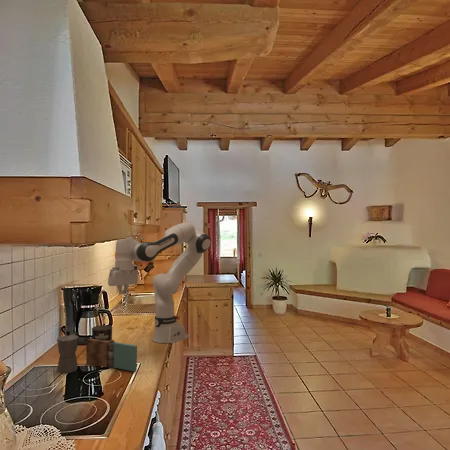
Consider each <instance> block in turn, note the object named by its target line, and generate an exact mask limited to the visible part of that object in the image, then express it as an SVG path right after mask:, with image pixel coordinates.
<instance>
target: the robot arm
mask: <svg viewBox="0 0 450 450" xmlns="http://www.w3.org/2000/svg"><path fill="white" fill-rule="evenodd" d="M126 237H127V238H126V239H121V240H118V239H117V240H116V243H115V244H116V246H115V262H114V266H113V267H112V268H110V270H109V274H108V279H107V284H108V287H116V288H117V291H118V295H126V294H128V289H129V285H137V283H138V280H139V279H138V278H139V276H138V275H139V273H138V270H139V266H137V265H136V264H134V263H133V261H135V262H147V263H148V262H152V261H154V260H155V258H156V257H157V256H158V255H159V254H160V253H161V252H164V251H166V250H167V249H169V248H171V247H175V246H179V245H181V244H183V243H184V244H185V243H186V244H187V245H188V247H187V248H186V249H185V250H184V251H183V252H181V254H179V256H178V257H177V258H176V259H175V260H173V262H172V263H171V266H170V267H169V269H168V271H167V272H166V273H164V272H161V273H158V274H156V275H155V276H154V277H153V278H152V286H153V293H154V300H155V315H154V332H153V336H152V338H151V340H152V342H155V343H158V344H175V343H177V342H181V341H184V340H187V339H190V335H189V334H188V333H186V328H185V326H184V325H182V324H181V323H180V322H178V321H177V320H180V316H178V315H175V301H174V300H175V299H174V298H173V297H174V296H173V295H174V294H176V293H177V292H178V291H179V289H180V286H181V283H182V282H183V280H184V279H185V277H186V276H187V275H188V274H189V272H190V271H191V270H192V269H193V268H194V267H195V266H196V265H197V264H198V263H199V261H200V259H201V258H202V256H203V253H205V252H206V251H208V250H209V248H210V247H211V244H212V238H211V237H210V236H209V235H208V234H207V233H204V232H203V231H202V230H199V229H197V228H195V226H194V224H193V223H191V222H189V221H186V222H182V223H178V224H176V225H173V226H170V227H169V228H168V229H166V230H165V231H164V234H163V237H162V238H160V239H158V240H156V241H148V242H147V241H146V242H142V243H141V242H139V241H138V240H136V239H135V238H134V237H132V236H130V235H129V236H126Z"/></svg>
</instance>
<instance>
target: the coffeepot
mask: <svg viewBox="0 0 450 450" xmlns="http://www.w3.org/2000/svg"><path fill="white" fill-rule="evenodd" d="M79 340H80V334H79V332H77V331H76V332H73V333H72V334H71V331H68V330H67V331H66V335H61V336H59V337H58V338H57V346H58V347H57V348H58V354H59V358H58V362H57V369H56V372H57V373H58V374H63V375H64V374H70V373H75V372H76V371H77V370H78V367H79V366H78V359H77V354H76V352H77V349H78V344H79Z"/></svg>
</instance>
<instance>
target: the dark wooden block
mask: <svg viewBox="0 0 450 450" xmlns="http://www.w3.org/2000/svg"><path fill="white" fill-rule="evenodd" d="M115 342H116V341H115V340H114V339H112V340H110V341H103V340H95V339H92V338H87V339H86V355H85V357H86V359H85V363H86V365H87V366H95V365H98V366H97V367H102V366H103V368H108V369H114V359H112V360H110V359H108V351H114V343H115Z"/></svg>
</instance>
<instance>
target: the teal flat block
mask: <svg viewBox="0 0 450 450" xmlns="http://www.w3.org/2000/svg"><path fill="white" fill-rule="evenodd" d="M137 348H138V345H137V344H136V345H135V344H130V343H123V342H117V341H115V343H114V351H108V359H110V360H112V359H114V368H115V369H119V370H124V371H130V372H134V371H135V372H137V368H138V366H137V365H138V363H137V362H138V360H137V359H138V349H137ZM114 368H113V369H114Z"/></svg>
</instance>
